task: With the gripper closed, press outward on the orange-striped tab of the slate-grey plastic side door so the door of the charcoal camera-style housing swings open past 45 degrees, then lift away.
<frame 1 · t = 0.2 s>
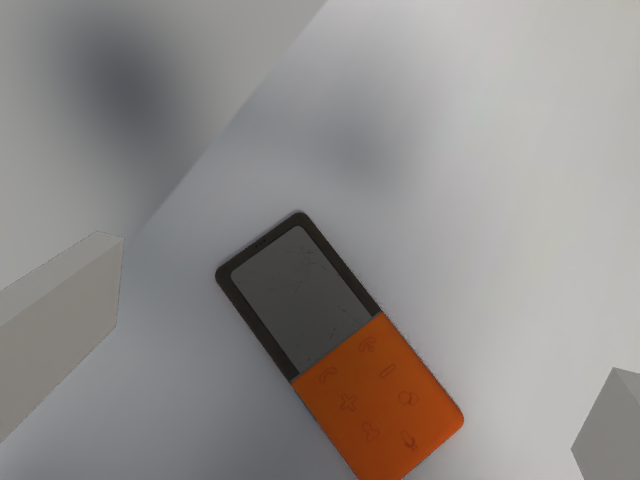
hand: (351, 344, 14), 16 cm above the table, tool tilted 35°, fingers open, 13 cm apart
phone: (334, 346, 30), on the table
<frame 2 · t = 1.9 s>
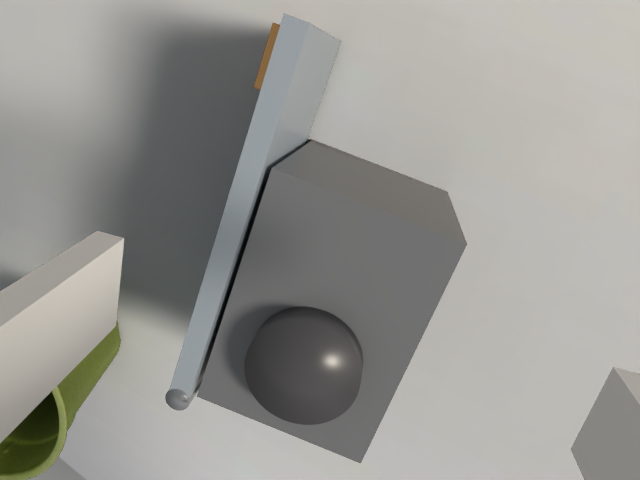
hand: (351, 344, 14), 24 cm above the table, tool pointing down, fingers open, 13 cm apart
plant pot: (83, 326, 44), on the table
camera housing: (344, 253, 39), on the table
side door: (254, 209, 32), point 7 cm above the table, hinge at 0.0°
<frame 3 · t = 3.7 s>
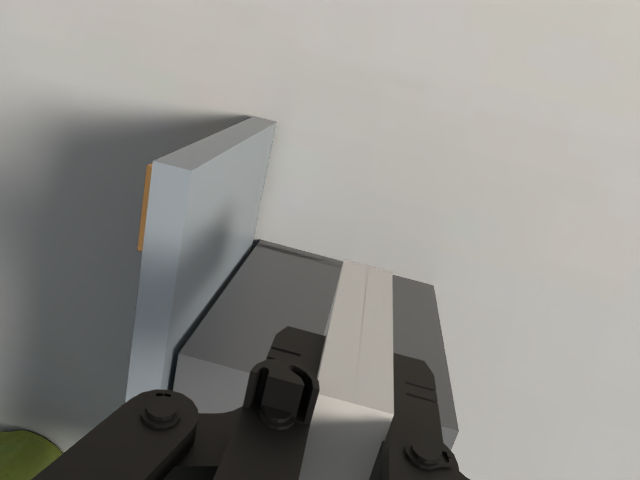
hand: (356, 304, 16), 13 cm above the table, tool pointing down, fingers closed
plant pot: (30, 464, 38), on the table
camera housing: (318, 365, 32), on the table
side door: (188, 357, 25), point 6 cm above the table, hinge at 0.0°
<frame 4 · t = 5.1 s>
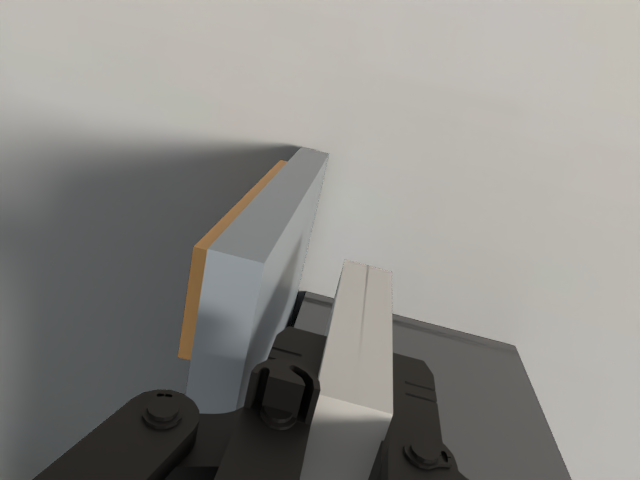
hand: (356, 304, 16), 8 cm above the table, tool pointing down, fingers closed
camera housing: (371, 434, 27), on the table
side door: (228, 450, 20), point 6 cm above the table, hinge at 0.2°, touching gripper
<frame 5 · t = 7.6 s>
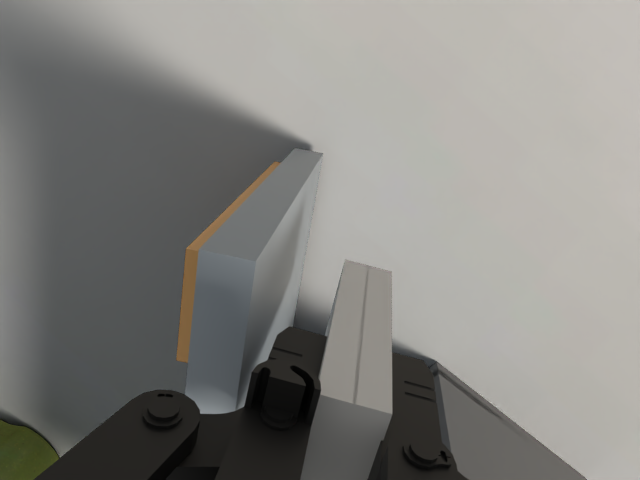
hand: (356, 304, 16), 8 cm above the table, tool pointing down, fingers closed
plant pot: (13, 461, 31), on the table
side door: (235, 454, 20), point 6 cm above the table, hinge at 28.6°, touching gripper
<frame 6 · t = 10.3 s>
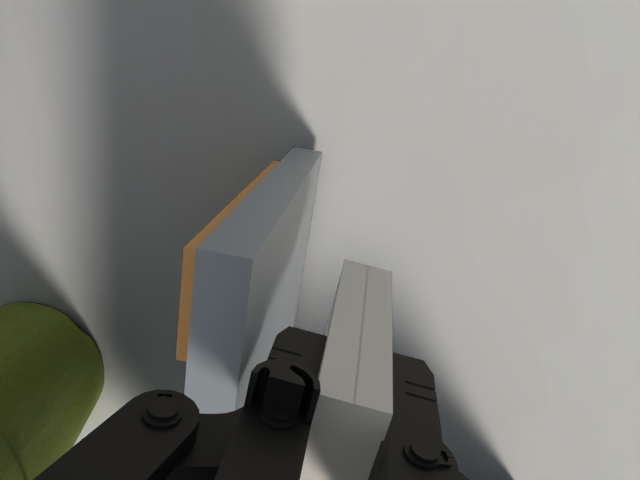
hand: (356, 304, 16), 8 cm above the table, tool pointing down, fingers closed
plant pot: (45, 356, 28), on the table
side door: (237, 454, 20), point 7 cm above the table, hinge at 61.8°, touching gripper
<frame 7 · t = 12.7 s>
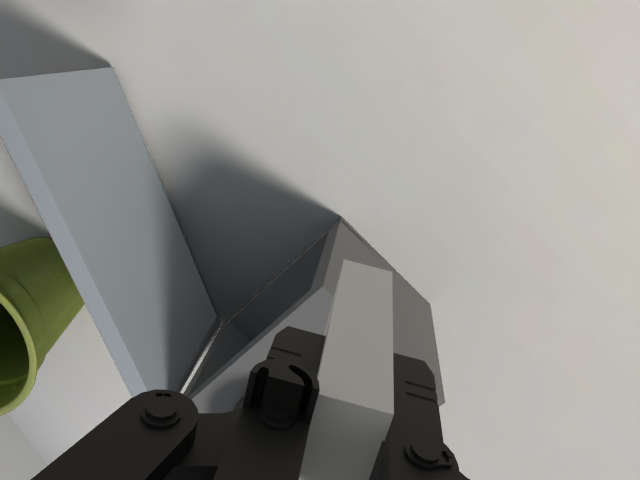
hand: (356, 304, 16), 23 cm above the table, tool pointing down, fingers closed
plant pot: (53, 272, 45), on the table
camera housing: (323, 314, 43), on the table
side door: (126, 238, 35), point 6 cm above the table, hinge at 62.0°
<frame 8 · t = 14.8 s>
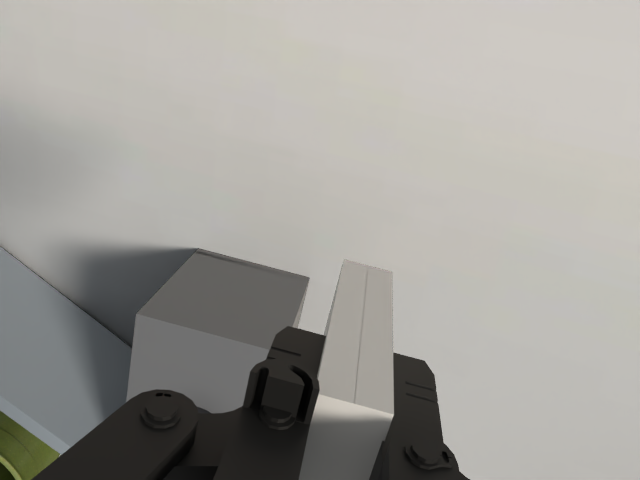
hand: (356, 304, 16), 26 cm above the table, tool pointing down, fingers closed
plant pot: (47, 404, 54), on the table
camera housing: (240, 331, 48), on the table
side door: (39, 352, 43), point 7 cm above the table, hinge at 62.0°
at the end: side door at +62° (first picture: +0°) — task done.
